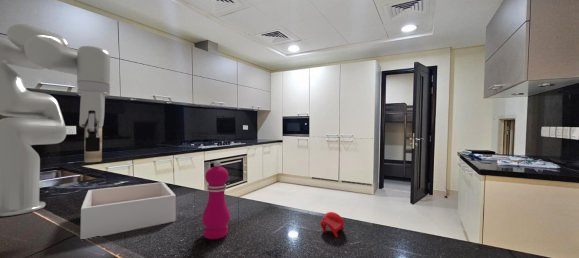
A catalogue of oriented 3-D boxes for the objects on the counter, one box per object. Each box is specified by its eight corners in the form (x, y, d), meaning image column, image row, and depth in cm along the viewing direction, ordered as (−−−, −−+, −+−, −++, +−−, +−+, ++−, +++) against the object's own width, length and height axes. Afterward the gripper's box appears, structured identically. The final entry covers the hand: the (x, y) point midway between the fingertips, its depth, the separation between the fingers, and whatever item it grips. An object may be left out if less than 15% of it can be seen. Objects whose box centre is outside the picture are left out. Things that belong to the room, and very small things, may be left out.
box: (87, 214, 76) (88, 190, 76) (163, 202, 90) (163, 182, 90) (80, 240, 59) (81, 208, 59) (175, 221, 72) (175, 195, 72)
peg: (85, 161, 70) (85, 121, 70) (102, 160, 72) (102, 121, 73) (83, 162, 67) (83, 120, 67) (101, 161, 69) (101, 121, 69)
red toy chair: (335, 230, 60) (348, 214, 63) (317, 216, 64) (331, 202, 67) (336, 245, 65) (348, 230, 68) (319, 232, 68) (332, 218, 71)
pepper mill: (221, 241, 59) (223, 163, 60) (196, 238, 61) (197, 162, 61) (234, 230, 67) (235, 159, 67) (210, 227, 68) (212, 158, 68)
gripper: (81, 92, 75) (80, 149, 74) (72, 83, 61) (71, 153, 61) (110, 94, 79) (110, 148, 79) (108, 86, 65) (107, 152, 65)
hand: (93, 150), depth 70 cm, fingers closed on peg, 4 cm apart
